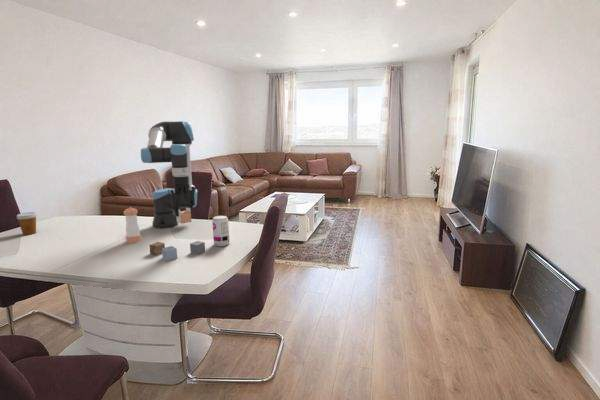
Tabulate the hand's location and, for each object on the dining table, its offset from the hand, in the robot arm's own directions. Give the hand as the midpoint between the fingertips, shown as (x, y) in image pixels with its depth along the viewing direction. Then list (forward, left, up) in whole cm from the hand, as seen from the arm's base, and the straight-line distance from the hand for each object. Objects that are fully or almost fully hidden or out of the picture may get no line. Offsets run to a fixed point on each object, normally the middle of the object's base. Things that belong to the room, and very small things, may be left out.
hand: (184, 221), depth 179 cm
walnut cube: (-5, -13, -15) cm, 20 cm away
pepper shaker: (-33, -11, -15) cm, 38 cm away
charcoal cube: (+10, 0, -15) cm, 18 cm away
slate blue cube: (+6, -13, -15) cm, 21 cm away
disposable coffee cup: (-97, -42, -15) cm, 107 cm away
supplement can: (+10, +15, -15) cm, 23 cm away
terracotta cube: (0, 0, 0) cm, 0 cm away
